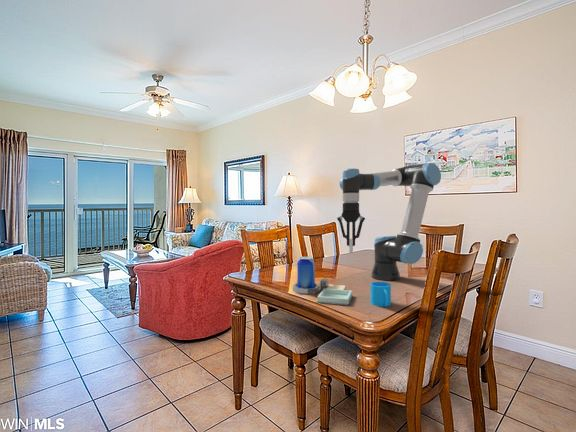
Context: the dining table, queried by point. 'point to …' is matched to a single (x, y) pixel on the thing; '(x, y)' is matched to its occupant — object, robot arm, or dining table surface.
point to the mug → (380, 294)
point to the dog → (323, 284)
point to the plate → (336, 287)
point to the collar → (306, 289)
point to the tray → (335, 296)
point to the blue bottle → (306, 272)
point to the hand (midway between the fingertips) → (350, 252)
